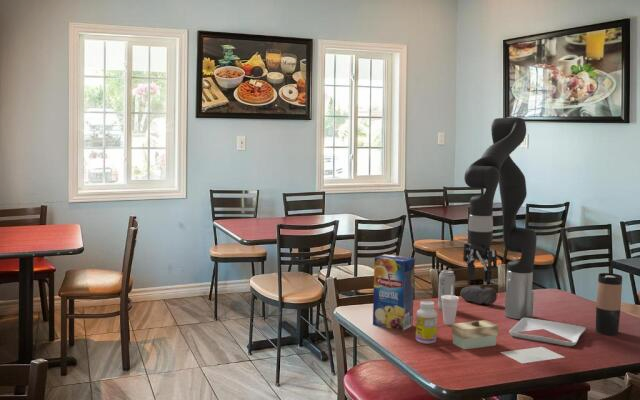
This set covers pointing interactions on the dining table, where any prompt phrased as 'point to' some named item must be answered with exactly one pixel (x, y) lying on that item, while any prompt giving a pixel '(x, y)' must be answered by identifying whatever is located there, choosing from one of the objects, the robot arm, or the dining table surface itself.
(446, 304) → the smoothie
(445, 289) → the energy drink can
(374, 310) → the juice carton
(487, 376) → the dining table surface
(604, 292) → the travel mug
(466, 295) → the perforated stone tool
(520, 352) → the mat
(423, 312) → the supplement bottle
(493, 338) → the dish
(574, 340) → the salad plate
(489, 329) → the lid
